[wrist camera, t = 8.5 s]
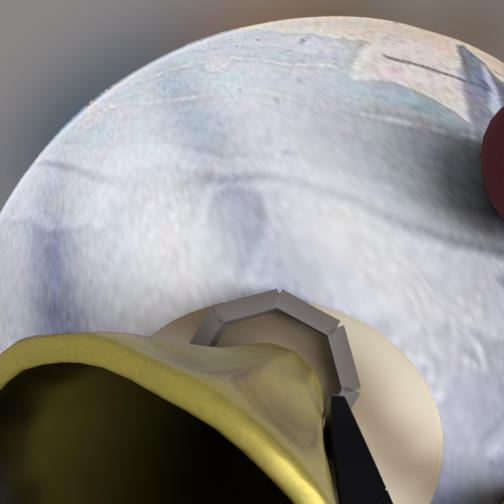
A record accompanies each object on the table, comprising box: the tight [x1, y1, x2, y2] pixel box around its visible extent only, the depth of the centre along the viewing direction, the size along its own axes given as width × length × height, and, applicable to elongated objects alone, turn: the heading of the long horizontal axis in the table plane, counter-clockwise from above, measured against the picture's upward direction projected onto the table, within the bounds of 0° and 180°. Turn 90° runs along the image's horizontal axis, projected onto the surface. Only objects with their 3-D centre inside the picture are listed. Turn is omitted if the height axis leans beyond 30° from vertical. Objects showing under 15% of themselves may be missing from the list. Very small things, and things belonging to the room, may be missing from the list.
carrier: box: [150, 289, 443, 504], centre depth 15 cm, size 23×23×3 cm
